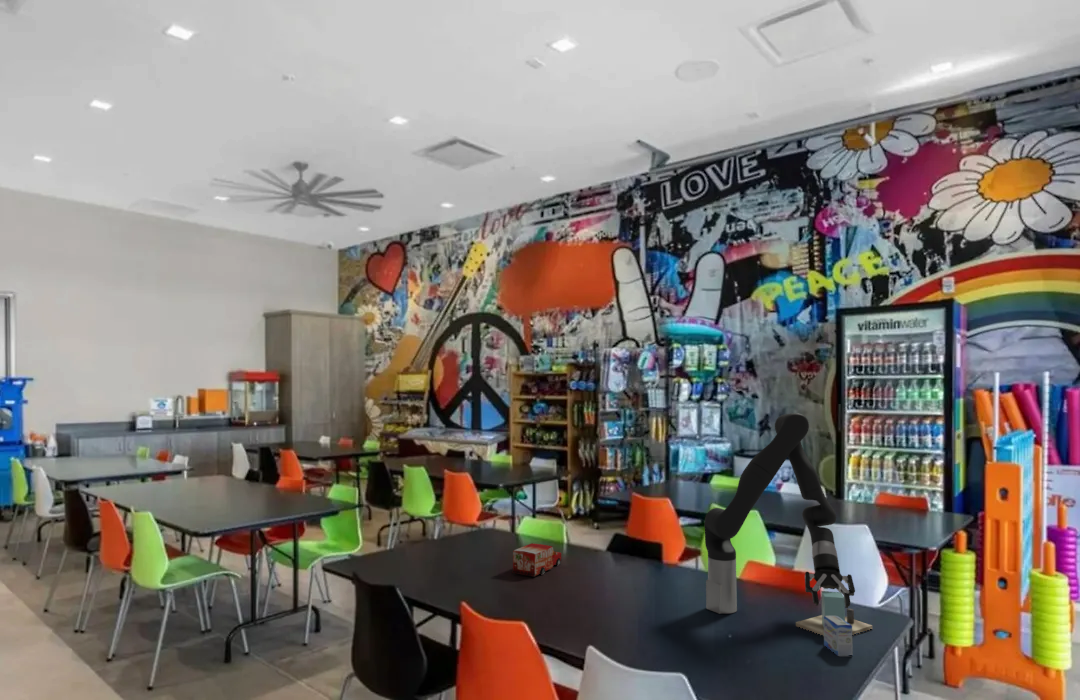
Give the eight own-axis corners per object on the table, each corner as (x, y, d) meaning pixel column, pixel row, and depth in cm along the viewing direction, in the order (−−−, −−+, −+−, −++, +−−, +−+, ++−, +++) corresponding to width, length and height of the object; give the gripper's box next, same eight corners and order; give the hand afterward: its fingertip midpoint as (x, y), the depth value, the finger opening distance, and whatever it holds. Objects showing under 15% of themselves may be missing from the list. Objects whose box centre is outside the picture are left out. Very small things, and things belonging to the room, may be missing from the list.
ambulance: (564, 565, 281) (564, 540, 281) (534, 579, 259) (534, 553, 260) (542, 561, 286) (542, 537, 287) (511, 575, 265) (511, 550, 265)
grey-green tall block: (845, 631, 201) (844, 597, 201) (825, 630, 202) (824, 596, 203) (841, 625, 206) (840, 592, 207) (822, 623, 208) (821, 591, 208)
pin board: (835, 640, 197) (835, 622, 197) (795, 626, 209) (795, 609, 209) (872, 629, 206) (871, 612, 206) (832, 615, 218) (831, 599, 218)
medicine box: (823, 645, 193) (822, 615, 193) (838, 645, 193) (837, 615, 194) (838, 657, 185) (837, 625, 186) (853, 656, 186) (852, 624, 186)
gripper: (802, 550, 216) (808, 597, 205) (850, 553, 213) (858, 601, 201) (801, 563, 221) (806, 609, 210) (847, 566, 218) (855, 613, 206)
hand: (832, 605), depth 205 cm, fingers open, 8 cm apart
